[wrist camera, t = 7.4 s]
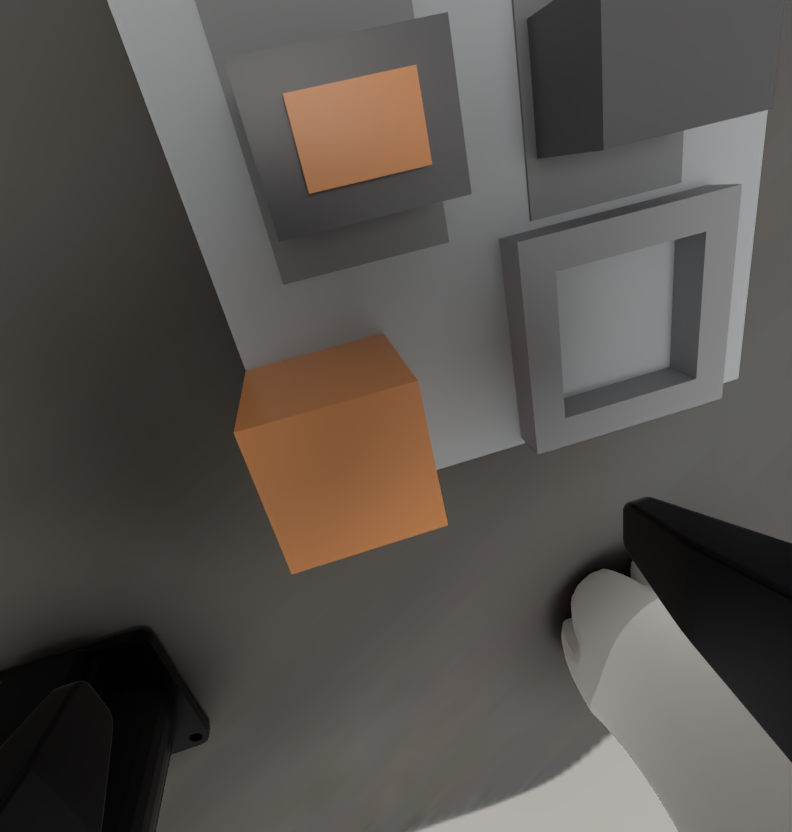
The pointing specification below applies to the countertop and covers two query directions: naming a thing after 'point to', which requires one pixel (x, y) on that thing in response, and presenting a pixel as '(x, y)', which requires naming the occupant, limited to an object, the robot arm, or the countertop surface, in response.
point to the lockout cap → (339, 451)
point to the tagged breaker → (354, 124)
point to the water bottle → (673, 710)
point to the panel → (501, 207)
